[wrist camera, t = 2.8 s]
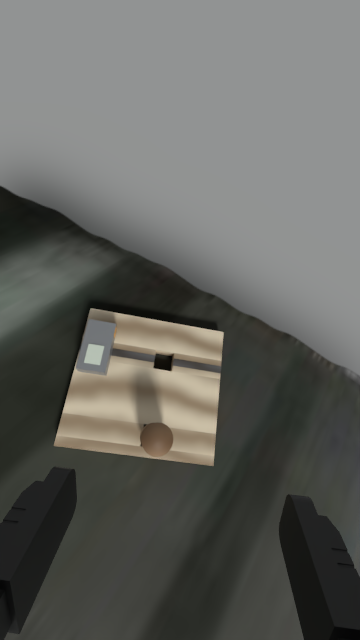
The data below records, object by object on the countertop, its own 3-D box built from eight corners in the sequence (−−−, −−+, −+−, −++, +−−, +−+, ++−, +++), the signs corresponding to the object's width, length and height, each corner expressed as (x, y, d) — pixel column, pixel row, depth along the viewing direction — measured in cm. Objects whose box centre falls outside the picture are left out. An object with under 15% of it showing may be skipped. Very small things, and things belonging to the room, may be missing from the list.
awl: (161, 450, 45) (170, 458, 35) (136, 447, 45) (138, 454, 34) (165, 424, 47) (175, 424, 36) (141, 421, 46) (144, 420, 36)
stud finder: (106, 375, 45) (105, 372, 42) (78, 371, 45) (74, 367, 42) (117, 329, 48) (116, 323, 45) (90, 324, 48) (88, 318, 45)
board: (209, 463, 46) (213, 466, 43) (57, 444, 43) (53, 445, 41) (219, 336, 54) (223, 331, 51) (92, 313, 51) (90, 307, 49)
